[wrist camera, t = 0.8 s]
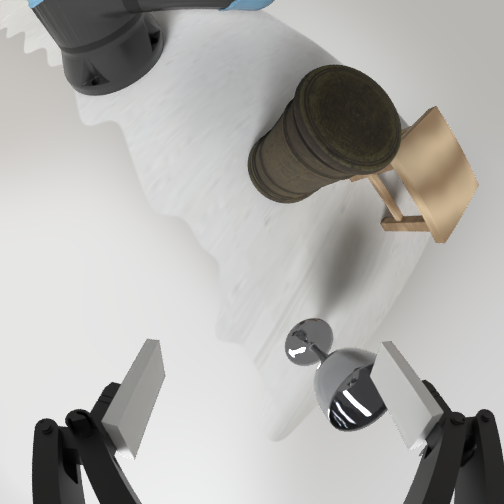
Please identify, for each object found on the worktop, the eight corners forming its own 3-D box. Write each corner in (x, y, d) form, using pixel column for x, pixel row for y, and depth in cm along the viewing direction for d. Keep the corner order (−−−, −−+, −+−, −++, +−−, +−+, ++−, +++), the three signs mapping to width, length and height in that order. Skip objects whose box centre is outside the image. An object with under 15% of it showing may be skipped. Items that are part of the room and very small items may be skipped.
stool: (337, 172, 34) (392, 150, 22) (383, 131, 35) (436, 105, 23) (384, 239, 36) (444, 243, 24) (423, 192, 37) (478, 184, 25)
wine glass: (293, 377, 35) (338, 443, 20) (273, 332, 34) (318, 393, 19) (341, 351, 36) (403, 401, 21) (326, 305, 35) (395, 345, 20)
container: (314, 206, 34) (411, 187, 16) (244, 200, 32) (293, 164, 15) (315, 141, 33) (399, 81, 16) (248, 131, 32) (293, 46, 14)
